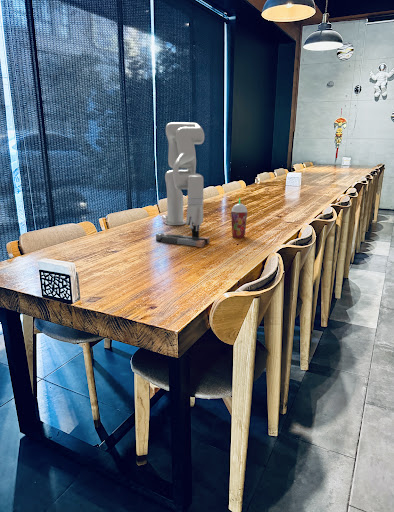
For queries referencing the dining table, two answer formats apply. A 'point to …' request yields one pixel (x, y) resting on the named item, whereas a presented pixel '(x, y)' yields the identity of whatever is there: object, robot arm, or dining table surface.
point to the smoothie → (238, 220)
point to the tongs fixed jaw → (183, 241)
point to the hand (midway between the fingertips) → (195, 238)
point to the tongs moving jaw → (159, 237)
